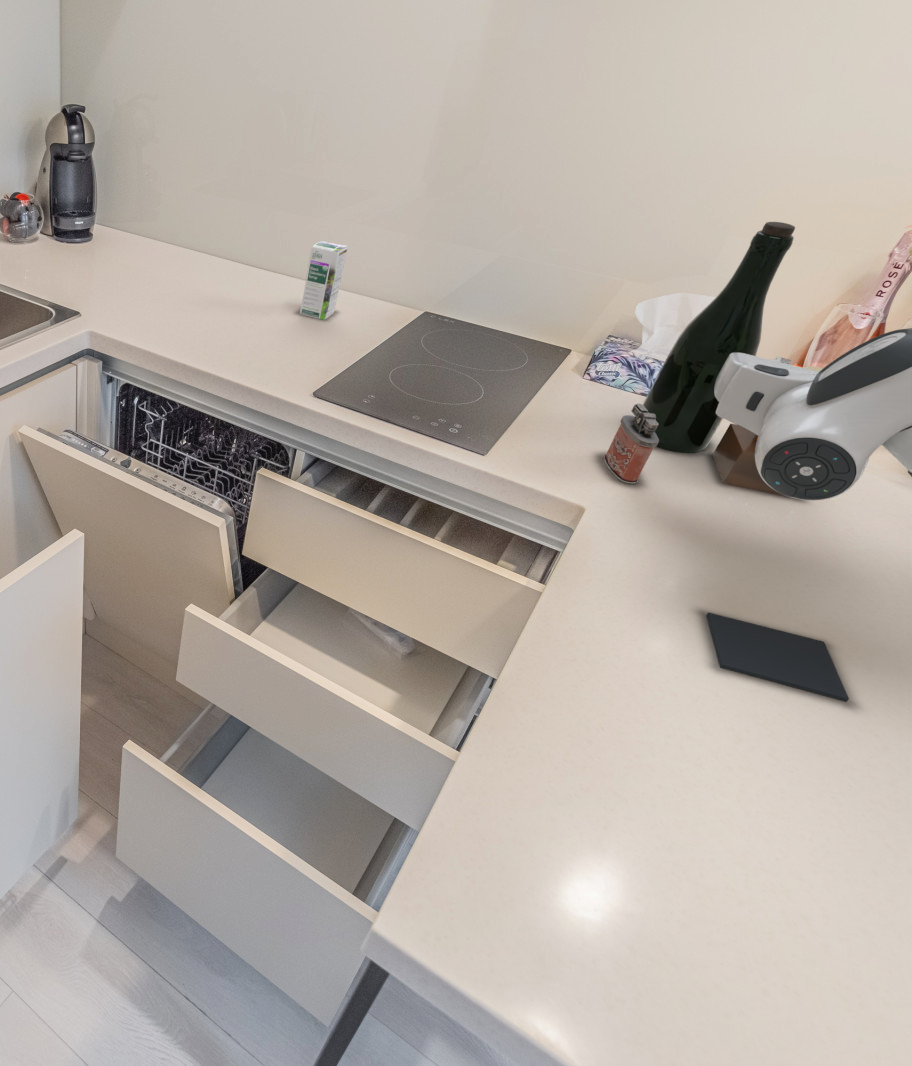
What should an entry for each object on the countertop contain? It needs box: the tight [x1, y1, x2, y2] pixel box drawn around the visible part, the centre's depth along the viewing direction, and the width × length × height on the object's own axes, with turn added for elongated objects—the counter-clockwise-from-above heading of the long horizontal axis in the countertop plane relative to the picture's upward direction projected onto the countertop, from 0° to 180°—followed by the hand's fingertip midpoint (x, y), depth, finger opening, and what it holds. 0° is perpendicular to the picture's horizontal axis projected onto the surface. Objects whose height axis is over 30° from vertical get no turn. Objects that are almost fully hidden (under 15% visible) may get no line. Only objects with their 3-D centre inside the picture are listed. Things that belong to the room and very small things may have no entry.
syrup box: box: [299, 240, 349, 321], centre depth 157 cm, size 6×6×14 cm
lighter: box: [602, 403, 659, 486], centre depth 109 cm, size 8×3×10 cm, turn 171°
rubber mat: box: [706, 611, 850, 703], centre depth 82 cm, size 11×9×1 cm
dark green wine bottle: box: [641, 221, 796, 454], centre depth 111 cm, size 10×10×33 cm
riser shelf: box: [712, 423, 789, 498], centre depth 110 cm, size 9×9×6 cm
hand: (827, 375), depth 92 cm, fingers open, 8 cm apart
